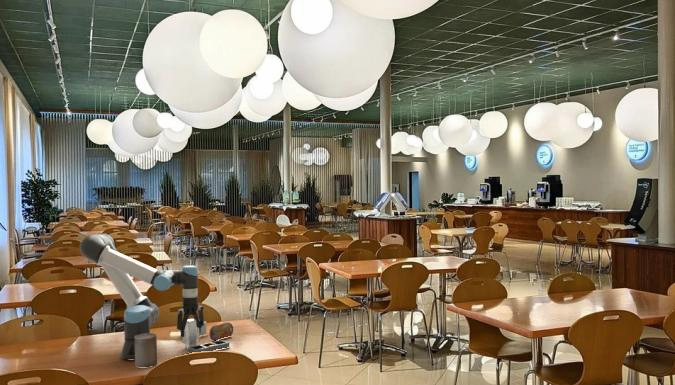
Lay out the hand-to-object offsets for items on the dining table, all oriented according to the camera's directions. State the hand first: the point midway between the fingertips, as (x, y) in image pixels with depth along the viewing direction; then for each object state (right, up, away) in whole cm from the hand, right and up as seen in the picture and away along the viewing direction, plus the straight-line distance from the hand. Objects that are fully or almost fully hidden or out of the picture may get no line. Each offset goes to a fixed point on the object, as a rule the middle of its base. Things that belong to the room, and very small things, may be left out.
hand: (190, 341), depth 297 cm
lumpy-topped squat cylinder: (-4, -3, +24) cm, 25 cm away
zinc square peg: (0, -3, 0) cm, 3 cm away
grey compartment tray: (+11, -3, -7) cm, 13 cm away
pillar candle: (-13, -4, -29) cm, 32 cm away
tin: (+12, -3, +16) cm, 20 cm away
